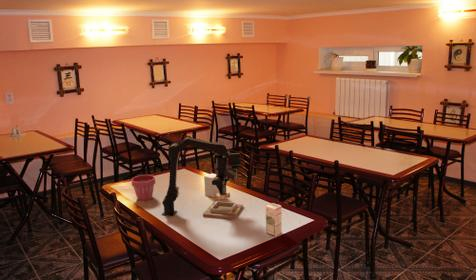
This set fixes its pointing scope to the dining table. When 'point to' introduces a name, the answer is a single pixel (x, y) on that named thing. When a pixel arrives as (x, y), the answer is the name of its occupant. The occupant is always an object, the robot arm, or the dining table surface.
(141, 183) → the plant pot
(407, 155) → the dining table surface
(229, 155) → the robot arm
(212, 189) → the supplement box
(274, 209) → the syrup box
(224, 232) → the dining table surface
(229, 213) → the board
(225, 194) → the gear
